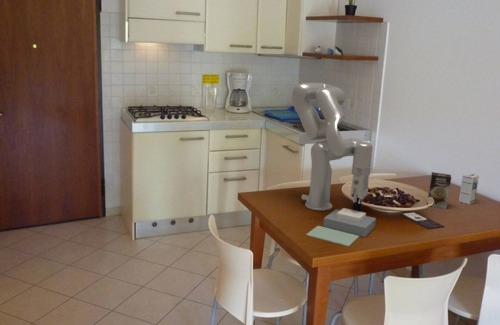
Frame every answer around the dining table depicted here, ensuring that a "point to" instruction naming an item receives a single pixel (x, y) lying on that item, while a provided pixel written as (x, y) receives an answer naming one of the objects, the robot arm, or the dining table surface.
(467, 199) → the syrup box
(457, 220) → the dining table surface
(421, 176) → the dining table surface
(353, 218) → the tile
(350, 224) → the block
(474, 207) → the dining table surface
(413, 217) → the chocolate bar
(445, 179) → the coffee box
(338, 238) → the mat
